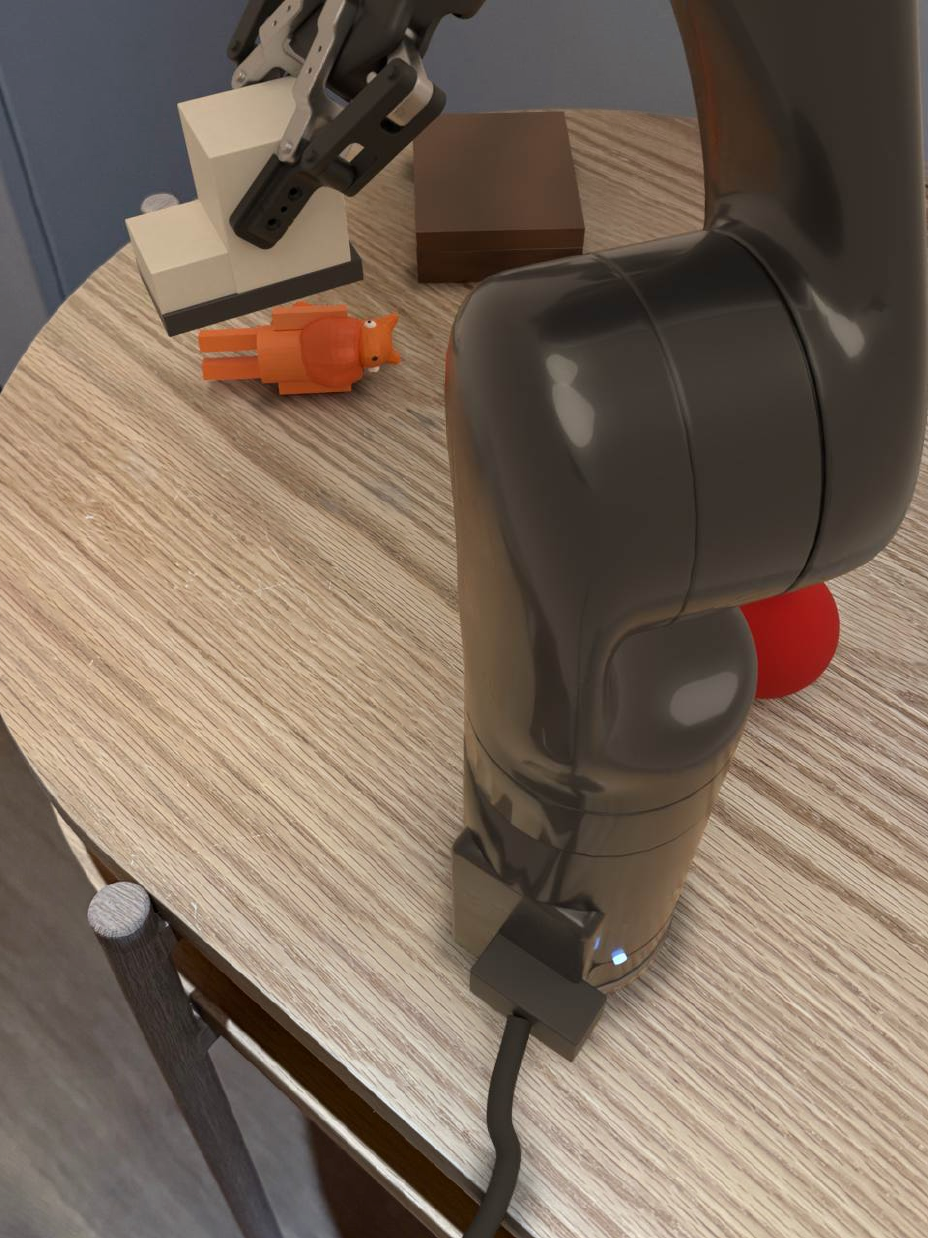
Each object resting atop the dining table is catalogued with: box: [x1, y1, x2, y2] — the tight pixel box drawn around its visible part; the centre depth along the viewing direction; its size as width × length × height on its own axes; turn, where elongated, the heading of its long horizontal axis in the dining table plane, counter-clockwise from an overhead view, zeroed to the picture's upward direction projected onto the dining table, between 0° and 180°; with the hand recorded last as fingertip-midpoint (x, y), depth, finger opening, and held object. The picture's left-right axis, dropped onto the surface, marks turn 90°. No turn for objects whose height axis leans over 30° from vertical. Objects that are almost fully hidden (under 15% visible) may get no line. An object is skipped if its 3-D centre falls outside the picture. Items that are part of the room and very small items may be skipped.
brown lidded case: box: [412, 110, 586, 284], centre depth 80 cm, size 11×14×4 cm
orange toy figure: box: [197, 300, 402, 396], centre depth 70 cm, size 5×8×12 cm
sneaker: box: [124, 75, 365, 338], centre depth 52 cm, size 10×5×8 cm, turn 115°
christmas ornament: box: [739, 582, 841, 700], centre depth 55 cm, size 7×7×10 cm
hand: (229, 204), depth 51 cm, fingers closed on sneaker, 4 cm apart
